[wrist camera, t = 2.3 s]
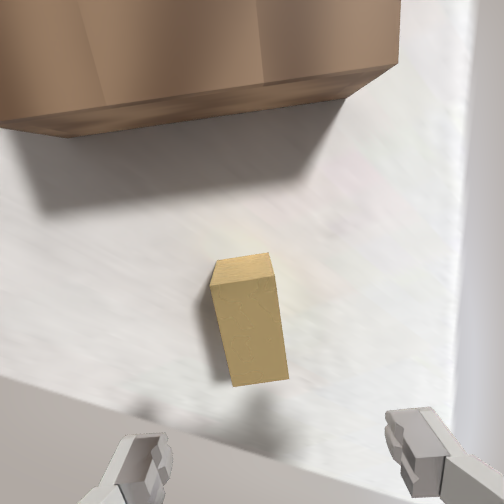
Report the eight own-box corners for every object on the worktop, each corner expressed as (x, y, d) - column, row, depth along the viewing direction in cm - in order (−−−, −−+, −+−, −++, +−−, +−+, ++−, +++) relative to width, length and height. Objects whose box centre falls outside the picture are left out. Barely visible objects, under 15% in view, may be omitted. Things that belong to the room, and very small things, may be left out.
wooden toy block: (235, 344, 20) (233, 386, 16) (217, 259, 17) (209, 285, 14) (280, 337, 20) (289, 378, 16) (268, 251, 17) (274, 275, 13)
